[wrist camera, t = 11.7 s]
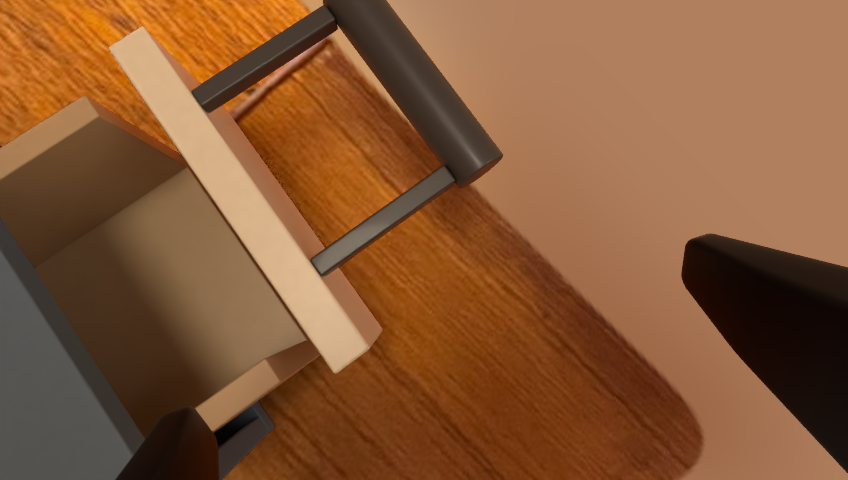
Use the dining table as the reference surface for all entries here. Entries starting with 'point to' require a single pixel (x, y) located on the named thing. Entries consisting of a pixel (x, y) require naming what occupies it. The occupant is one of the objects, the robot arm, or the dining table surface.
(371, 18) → the drawer
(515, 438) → the dining table surface
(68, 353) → the cabinet
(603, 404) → the dining table surface
